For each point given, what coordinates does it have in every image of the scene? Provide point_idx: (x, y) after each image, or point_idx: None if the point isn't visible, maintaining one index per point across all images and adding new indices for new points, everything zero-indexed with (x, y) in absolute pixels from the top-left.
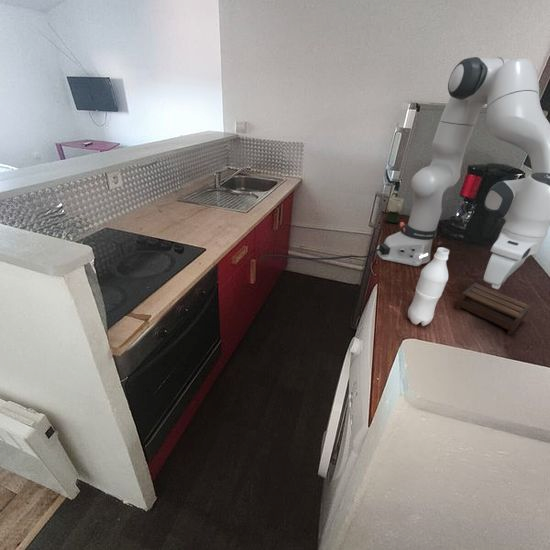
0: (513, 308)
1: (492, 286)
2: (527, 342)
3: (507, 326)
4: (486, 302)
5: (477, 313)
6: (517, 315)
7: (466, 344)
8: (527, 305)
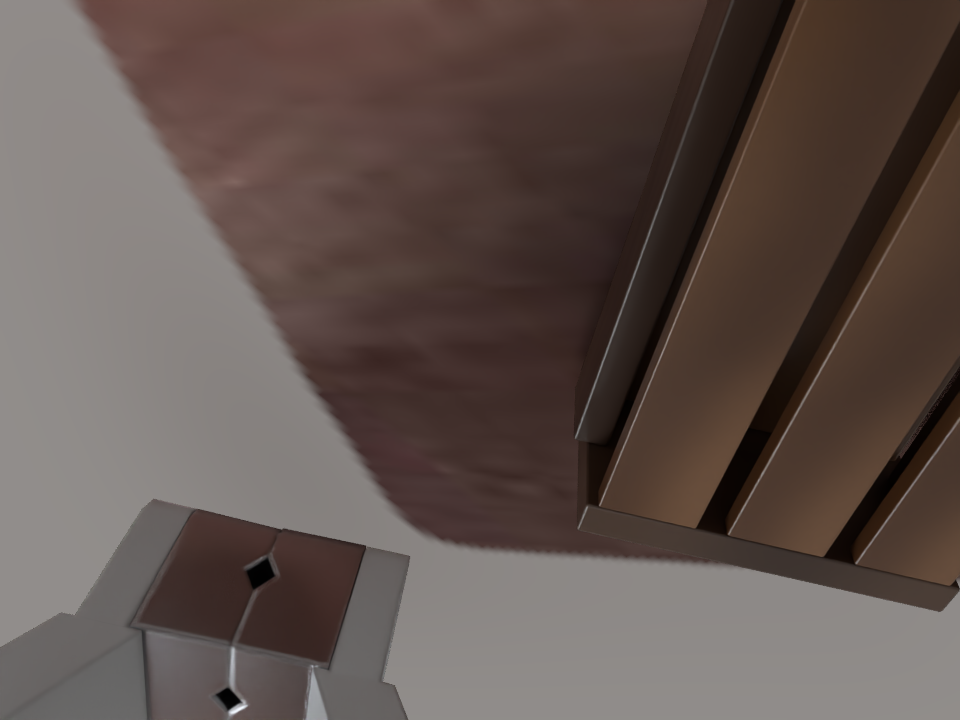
0: (761, 486)
1: (151, 514)
2: (568, 476)
3: (580, 389)
4: (722, 229)
5: (669, 114)
6: (626, 511)
7: (130, 83)
8: (923, 588)
